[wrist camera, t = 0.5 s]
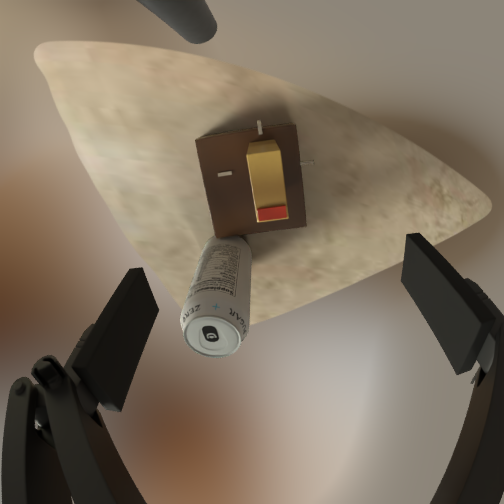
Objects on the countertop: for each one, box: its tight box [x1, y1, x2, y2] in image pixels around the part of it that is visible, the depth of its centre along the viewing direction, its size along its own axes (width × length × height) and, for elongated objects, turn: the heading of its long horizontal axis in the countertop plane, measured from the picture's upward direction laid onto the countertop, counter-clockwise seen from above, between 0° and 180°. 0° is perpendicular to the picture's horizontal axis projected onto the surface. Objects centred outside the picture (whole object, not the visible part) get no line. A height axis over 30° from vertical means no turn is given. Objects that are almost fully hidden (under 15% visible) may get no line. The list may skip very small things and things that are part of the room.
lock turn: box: [247, 140, 289, 222], centre depth 25 cm, size 6×2×8 cm, turn 9°
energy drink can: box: [180, 236, 252, 358], centre depth 30 cm, size 6×6×15 cm
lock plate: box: [195, 120, 314, 238], centre depth 30 cm, size 12×11×3 cm
